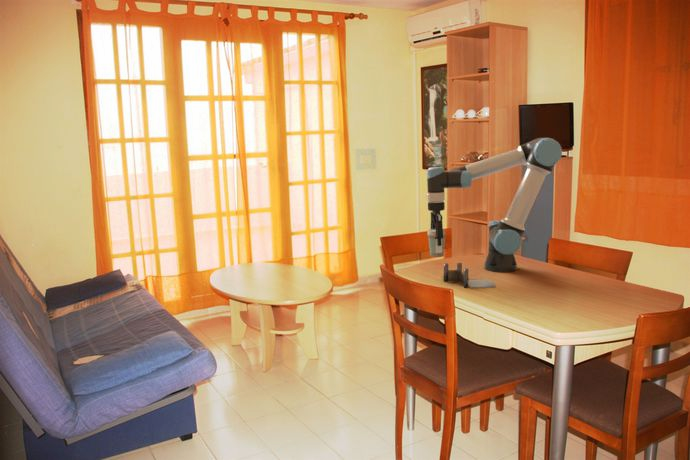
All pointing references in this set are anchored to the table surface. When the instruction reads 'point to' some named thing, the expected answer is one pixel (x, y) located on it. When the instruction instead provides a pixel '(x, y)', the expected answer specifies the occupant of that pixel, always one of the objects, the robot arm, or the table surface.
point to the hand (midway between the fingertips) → (436, 250)
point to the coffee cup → (432, 242)
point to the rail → (456, 275)
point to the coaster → (480, 284)
